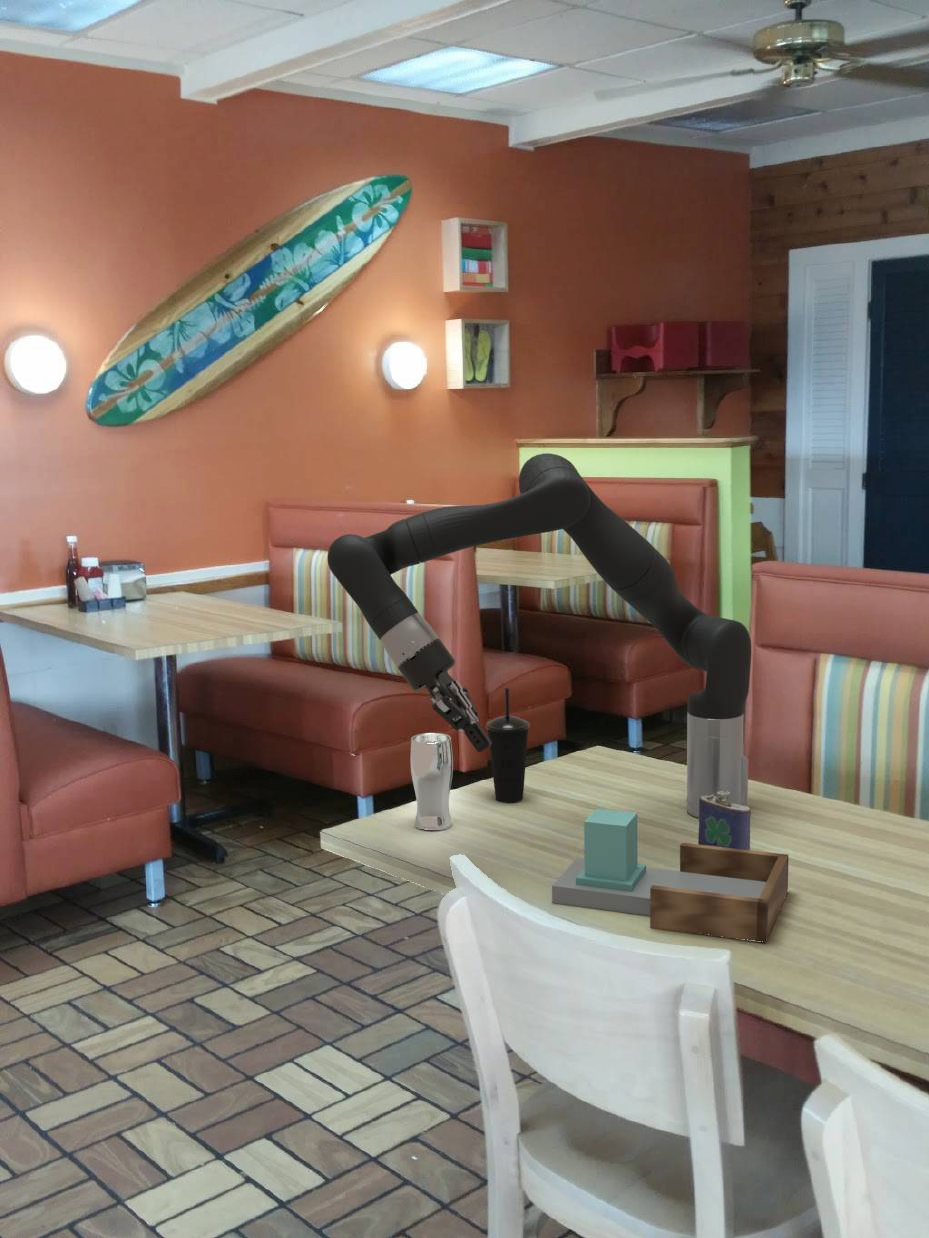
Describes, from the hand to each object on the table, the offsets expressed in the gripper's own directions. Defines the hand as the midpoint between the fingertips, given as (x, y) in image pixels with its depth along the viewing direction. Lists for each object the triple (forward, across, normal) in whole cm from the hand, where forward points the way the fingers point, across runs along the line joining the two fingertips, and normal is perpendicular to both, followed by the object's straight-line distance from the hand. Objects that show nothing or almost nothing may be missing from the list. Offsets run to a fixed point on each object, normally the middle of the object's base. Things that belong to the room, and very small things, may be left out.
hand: (485, 748), depth 187 cm
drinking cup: (+10, -39, -13) cm, 42 cm away
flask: (+35, -16, +16) cm, 41 cm away
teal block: (+25, +1, +4) cm, 26 cm away
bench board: (+31, +2, +8) cm, 33 cm away
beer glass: (+5, -24, -22) cm, 33 cm away
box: (+36, +3, +14) cm, 39 cm away
